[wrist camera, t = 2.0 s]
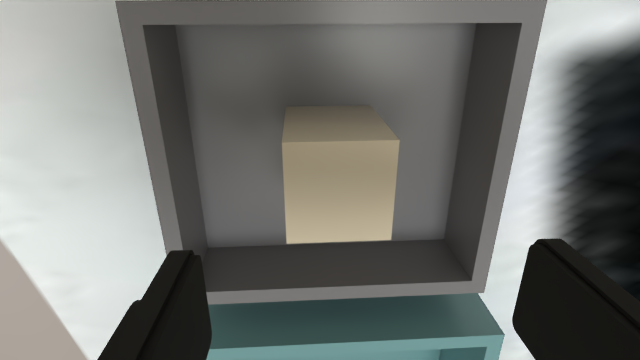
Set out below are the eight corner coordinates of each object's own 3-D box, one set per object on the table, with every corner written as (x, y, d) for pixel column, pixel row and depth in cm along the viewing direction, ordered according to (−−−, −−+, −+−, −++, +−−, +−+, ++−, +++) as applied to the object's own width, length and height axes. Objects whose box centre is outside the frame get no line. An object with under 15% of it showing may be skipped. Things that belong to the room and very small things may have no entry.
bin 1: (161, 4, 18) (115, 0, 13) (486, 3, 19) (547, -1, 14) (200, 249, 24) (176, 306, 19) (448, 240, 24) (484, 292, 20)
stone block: (286, 106, 19) (281, 142, 14) (370, 105, 19) (399, 139, 14) (289, 184, 21) (286, 243, 16) (366, 182, 21) (391, 239, 16)
